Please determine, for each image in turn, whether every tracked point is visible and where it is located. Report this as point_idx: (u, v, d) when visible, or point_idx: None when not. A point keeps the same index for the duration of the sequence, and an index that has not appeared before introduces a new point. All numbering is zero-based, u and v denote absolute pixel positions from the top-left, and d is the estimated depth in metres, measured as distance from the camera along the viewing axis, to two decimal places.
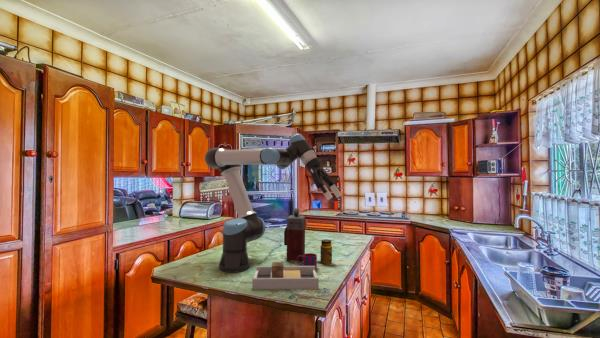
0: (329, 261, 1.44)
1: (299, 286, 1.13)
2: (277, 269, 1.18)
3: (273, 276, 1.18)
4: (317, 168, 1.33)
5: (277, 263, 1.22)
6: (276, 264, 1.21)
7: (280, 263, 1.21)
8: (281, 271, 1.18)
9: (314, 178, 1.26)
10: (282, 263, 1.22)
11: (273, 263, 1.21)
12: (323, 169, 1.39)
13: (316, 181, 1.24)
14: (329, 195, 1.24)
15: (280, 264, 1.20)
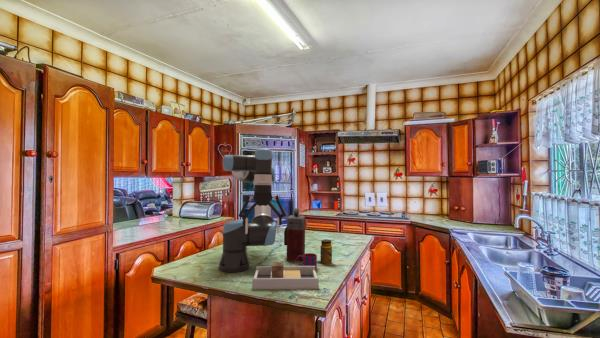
0: (329, 261, 1.44)
1: (299, 286, 1.13)
2: (277, 269, 1.18)
3: (273, 276, 1.18)
4: (260, 196, 1.20)
5: (277, 263, 1.22)
6: (276, 264, 1.21)
7: (280, 263, 1.21)
8: (281, 271, 1.18)
9: (243, 206, 1.20)
10: (282, 263, 1.22)
11: (273, 263, 1.21)
12: (276, 197, 1.20)
13: None
14: None
15: (280, 264, 1.20)
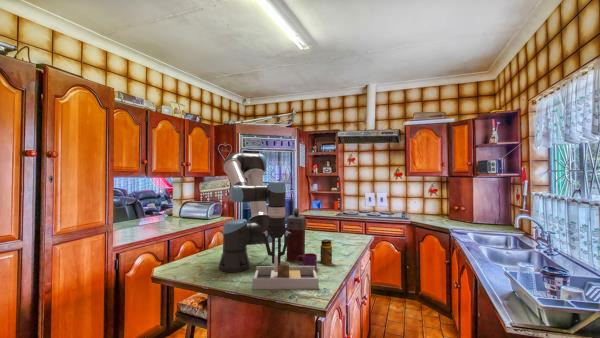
0: (329, 261, 1.44)
1: (299, 286, 1.13)
2: (283, 269, 1.18)
3: (279, 276, 1.18)
4: (273, 228, 1.20)
5: (282, 262, 1.22)
6: (282, 263, 1.21)
7: (286, 263, 1.21)
8: (287, 271, 1.18)
9: None
10: (288, 263, 1.22)
11: None
12: (288, 234, 1.20)
13: (267, 249, 1.20)
14: (274, 268, 1.20)
15: (286, 264, 1.20)
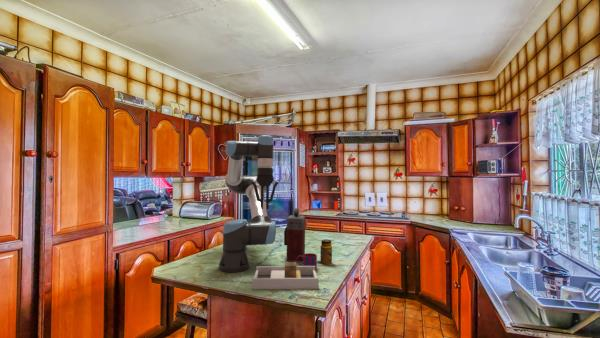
0: (329, 261, 1.44)
1: (299, 286, 1.13)
2: (290, 269, 1.19)
3: (286, 276, 1.18)
4: (262, 177, 1.33)
5: (289, 262, 1.22)
6: (289, 263, 1.21)
7: (292, 263, 1.22)
8: (294, 271, 1.19)
9: None
10: (295, 263, 1.22)
11: (286, 263, 1.22)
12: (276, 182, 1.34)
13: None
14: (263, 213, 1.34)
15: (293, 264, 1.21)
